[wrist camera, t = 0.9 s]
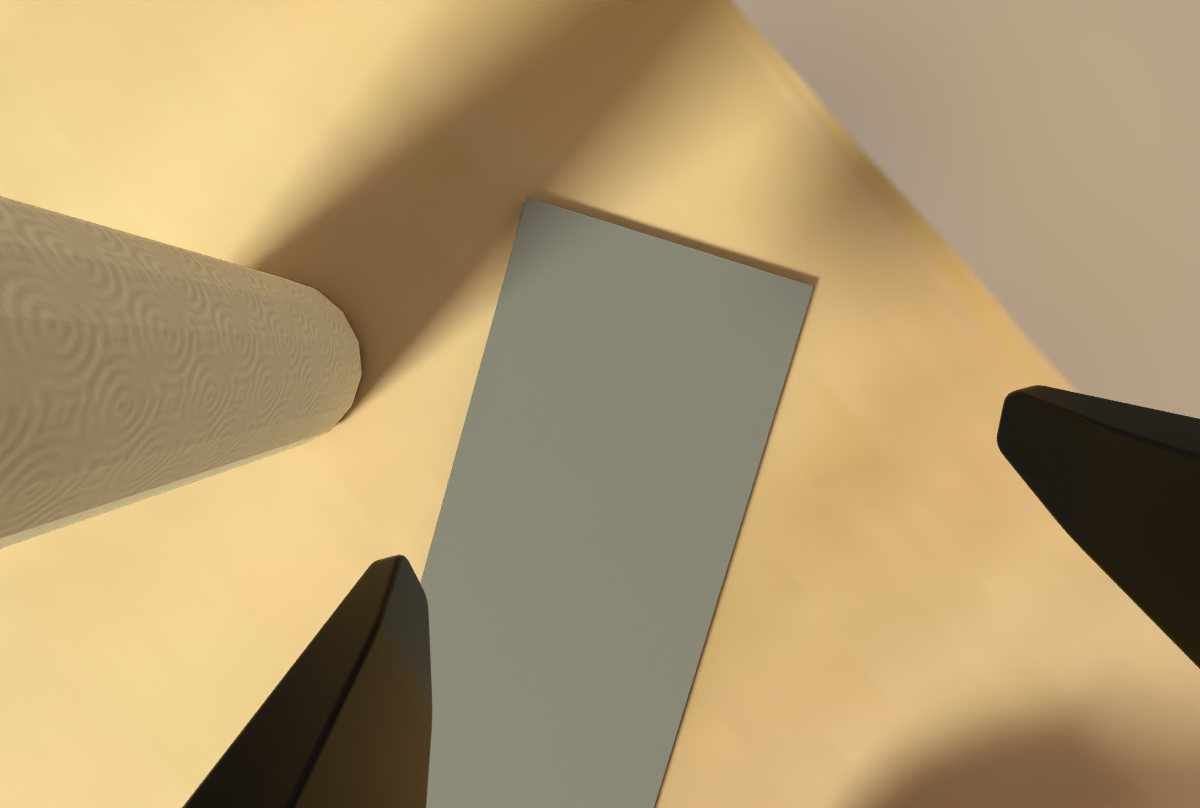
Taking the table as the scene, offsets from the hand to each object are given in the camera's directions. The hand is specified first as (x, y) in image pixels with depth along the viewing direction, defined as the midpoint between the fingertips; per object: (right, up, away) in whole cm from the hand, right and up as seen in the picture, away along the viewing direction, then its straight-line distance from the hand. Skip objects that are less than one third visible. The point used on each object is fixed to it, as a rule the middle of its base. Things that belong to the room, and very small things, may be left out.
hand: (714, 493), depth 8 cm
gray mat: (-2, -4, +14) cm, 15 cm away
